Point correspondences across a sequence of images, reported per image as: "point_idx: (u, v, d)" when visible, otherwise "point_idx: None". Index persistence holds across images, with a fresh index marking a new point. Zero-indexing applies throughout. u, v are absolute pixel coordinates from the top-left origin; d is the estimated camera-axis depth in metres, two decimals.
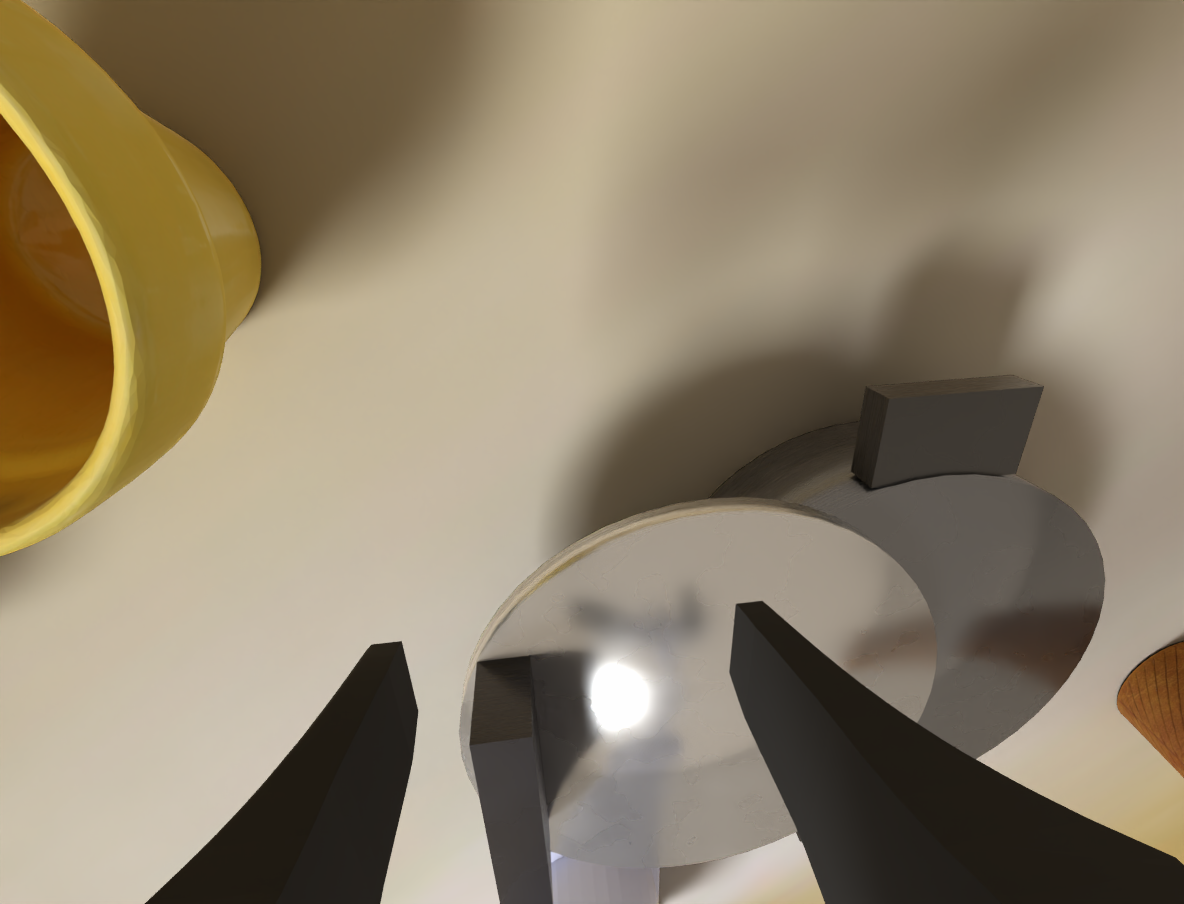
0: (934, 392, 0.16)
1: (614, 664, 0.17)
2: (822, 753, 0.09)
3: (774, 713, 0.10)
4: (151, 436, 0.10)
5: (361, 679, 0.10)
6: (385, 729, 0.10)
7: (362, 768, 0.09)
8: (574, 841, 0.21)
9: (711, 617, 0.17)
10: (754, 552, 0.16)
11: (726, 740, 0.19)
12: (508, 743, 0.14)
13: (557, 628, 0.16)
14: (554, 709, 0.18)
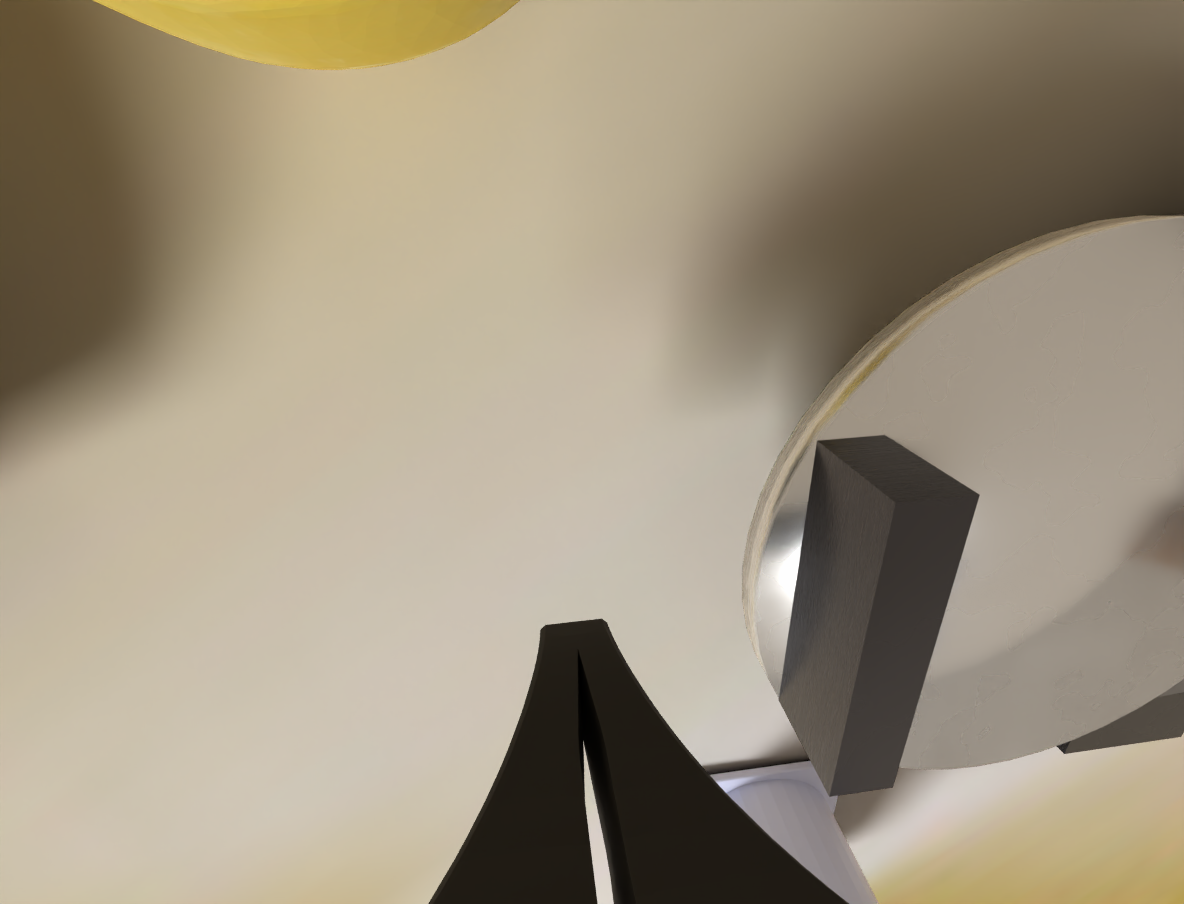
0: None
1: (981, 458, 0.13)
2: (606, 784, 0.08)
3: (590, 737, 0.10)
4: None
5: (555, 656, 0.10)
6: (579, 704, 0.10)
7: (579, 739, 0.09)
8: None
9: (1121, 389, 0.13)
10: None
11: (1072, 586, 0.15)
12: (945, 503, 0.10)
13: (931, 392, 0.12)
14: None
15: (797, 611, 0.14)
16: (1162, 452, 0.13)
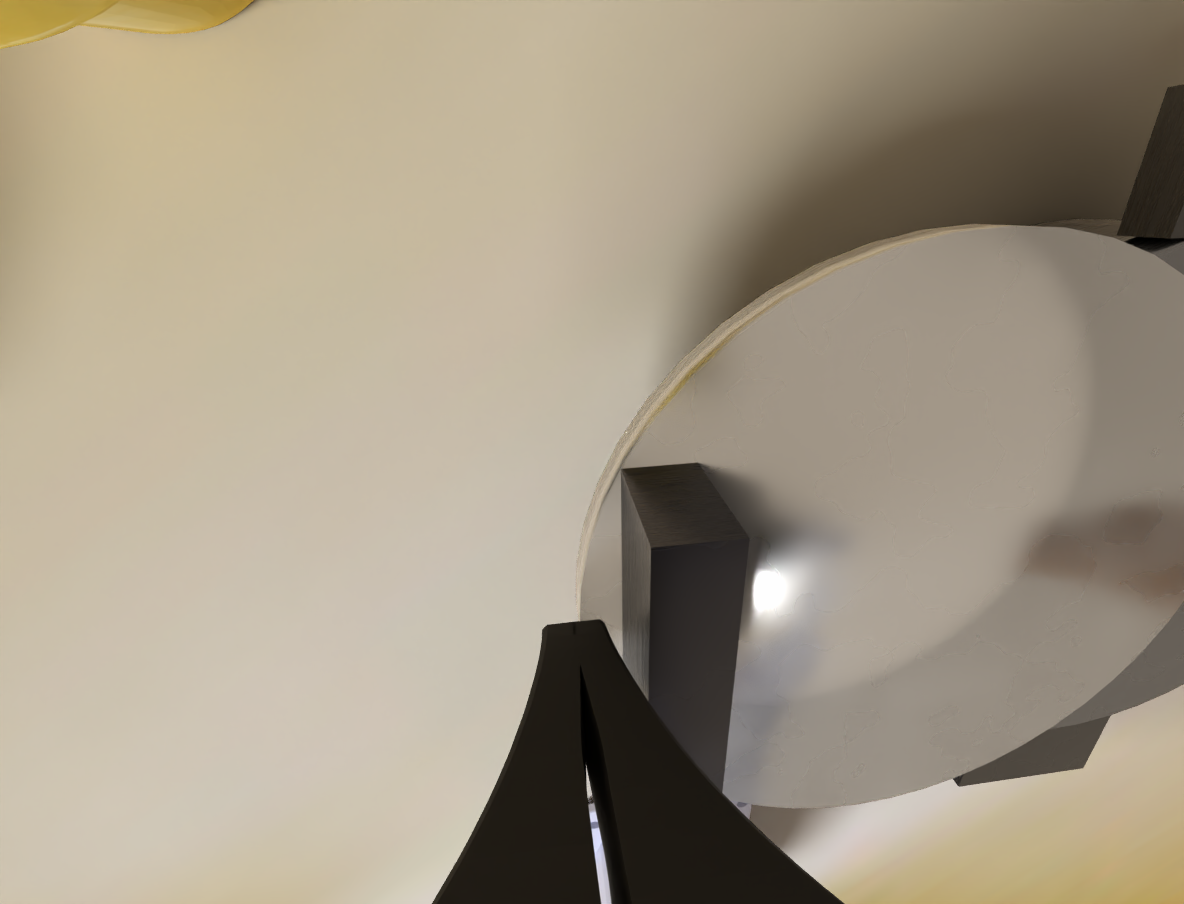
0: None
1: (811, 487, 0.12)
2: (604, 784, 0.08)
3: (588, 738, 0.10)
4: None
5: (558, 656, 0.10)
6: (582, 704, 0.10)
7: (582, 739, 0.09)
8: None
9: (959, 413, 0.11)
10: (1045, 299, 0.11)
11: (934, 620, 0.14)
12: (710, 548, 0.09)
13: (743, 416, 0.11)
14: None
15: (624, 649, 0.13)
16: (1015, 480, 0.12)
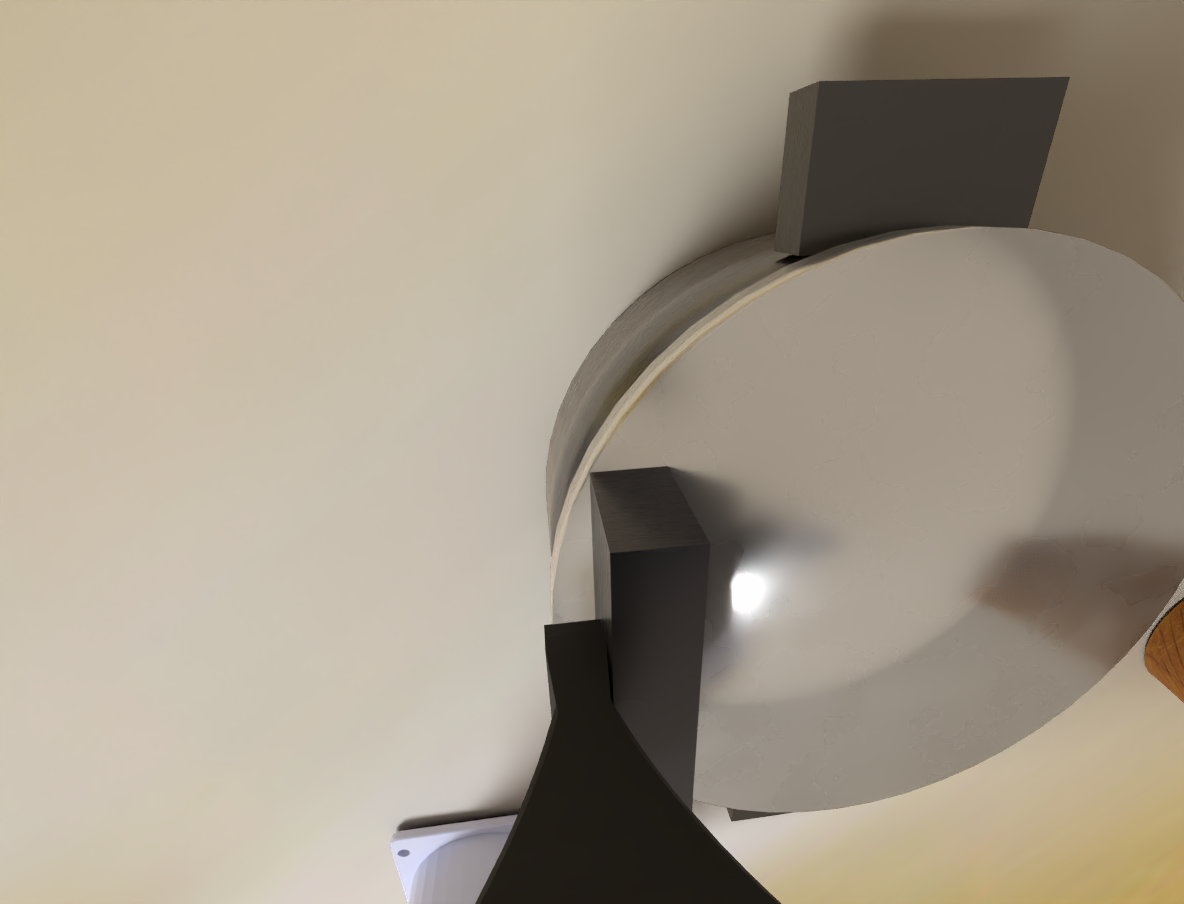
0: (894, 82, 0.10)
1: (783, 490, 0.12)
2: None
3: None
4: None
5: (585, 652, 0.10)
6: None
7: None
8: None
9: (932, 416, 0.11)
10: (1016, 302, 0.11)
11: (912, 624, 0.14)
12: (671, 553, 0.09)
13: (712, 420, 0.11)
14: None
15: None
16: (991, 483, 0.12)
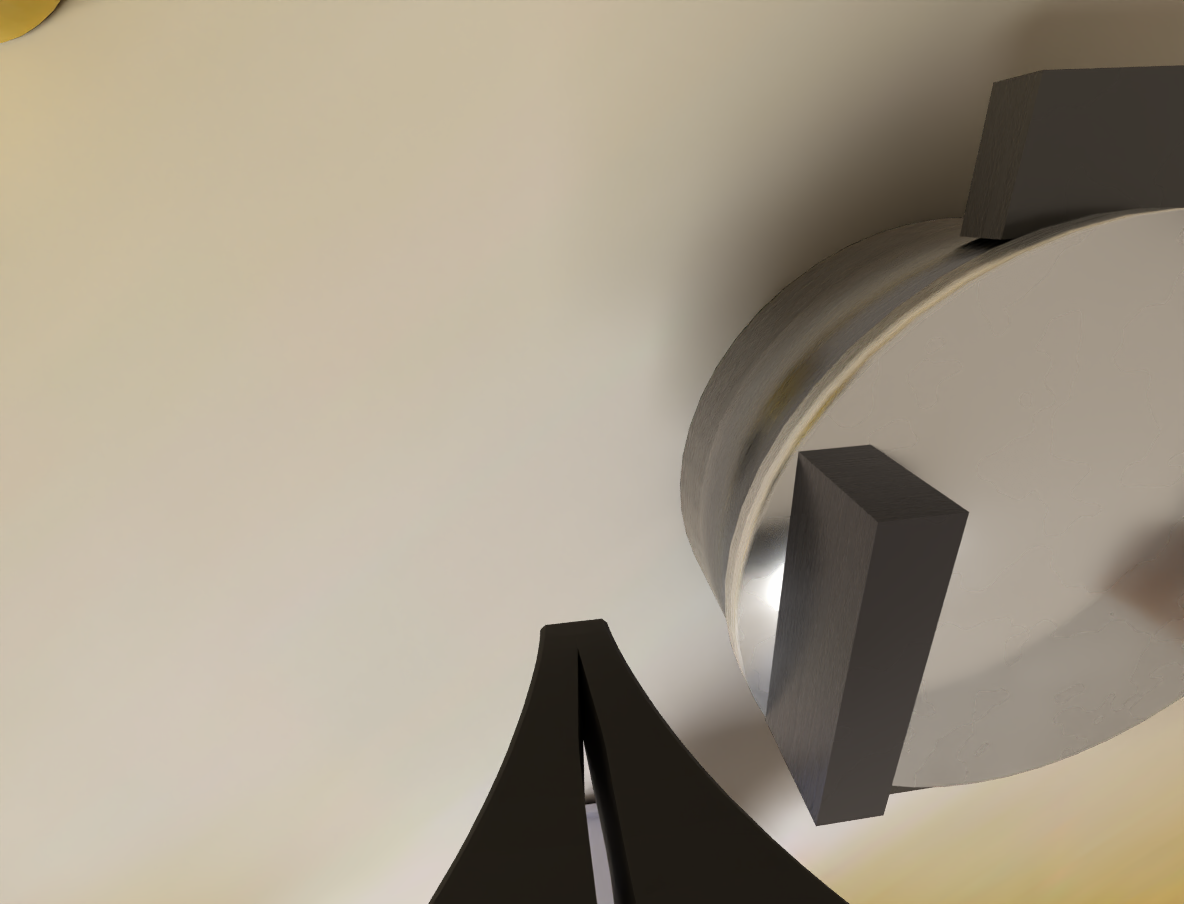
0: (1109, 70, 0.11)
1: (974, 467, 0.12)
2: (606, 784, 0.08)
3: (590, 737, 0.10)
4: None
5: (555, 656, 0.10)
6: (579, 704, 0.10)
7: (579, 739, 0.09)
8: None
9: (1122, 393, 0.12)
10: None
11: (1073, 598, 0.14)
12: (932, 522, 0.09)
13: (919, 399, 0.11)
14: None
15: (782, 629, 0.13)
16: (1166, 458, 0.13)
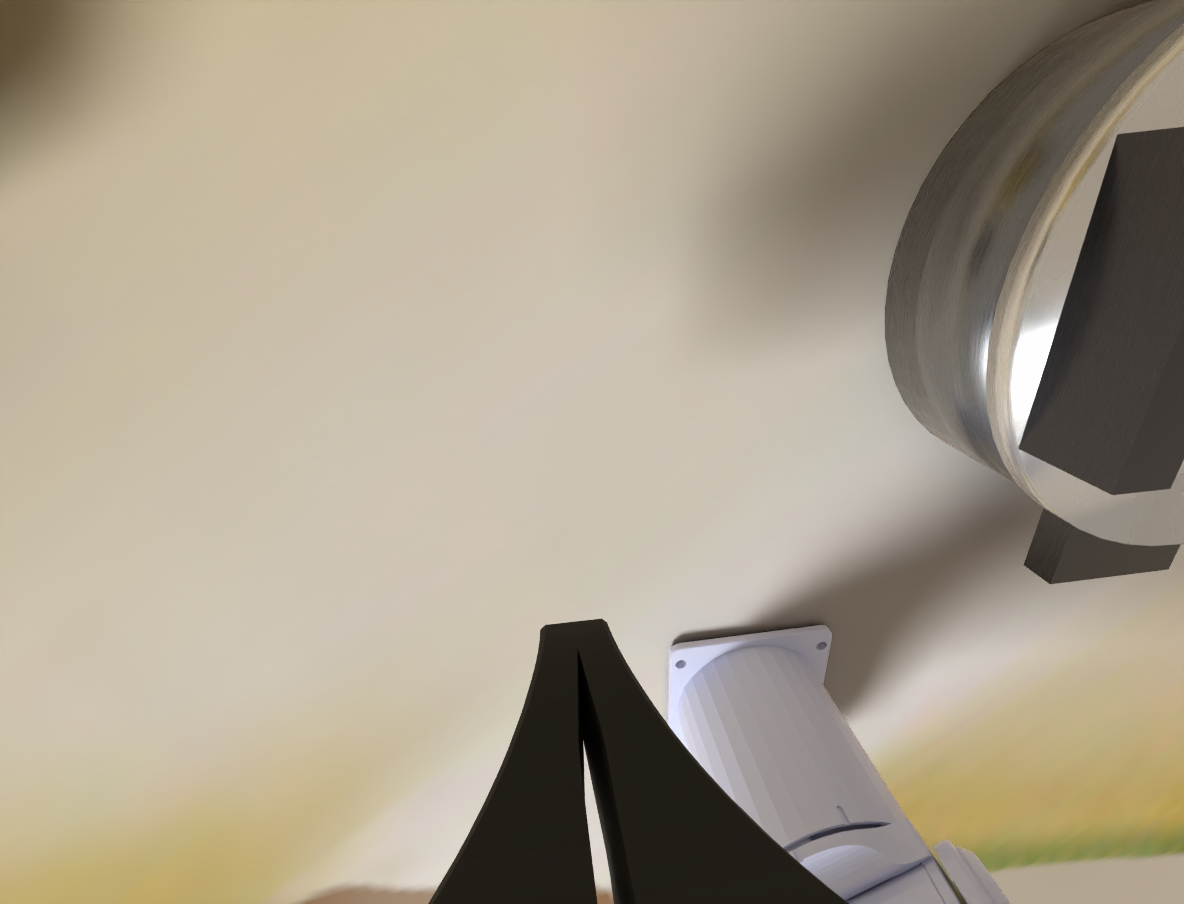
0: None
1: None
2: (606, 784, 0.08)
3: (590, 737, 0.10)
4: None
5: (555, 656, 0.10)
6: (579, 704, 0.10)
7: (579, 739, 0.09)
8: (1077, 487, 0.17)
9: None
10: None
11: None
12: None
13: None
14: None
15: (1064, 334, 0.14)
16: None
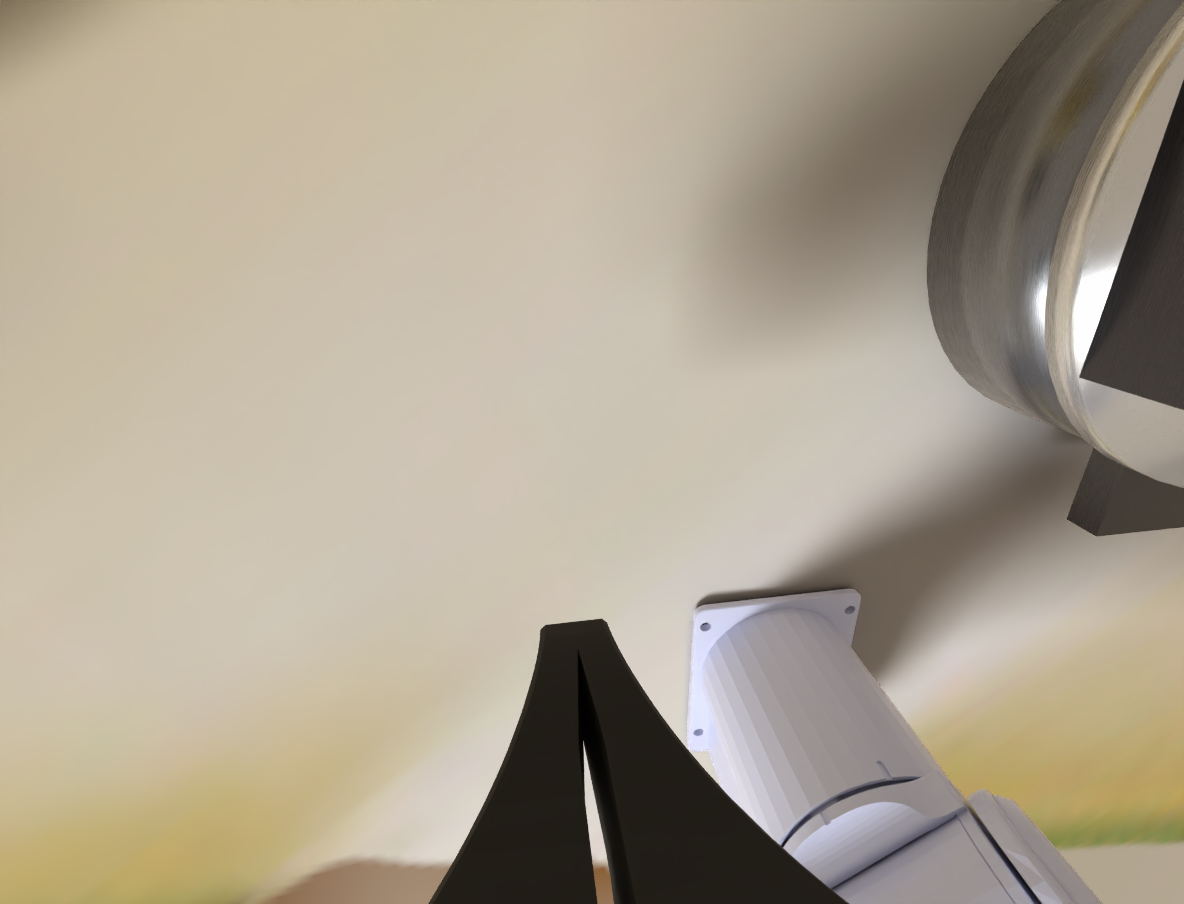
0: None
1: None
2: (606, 784, 0.08)
3: (590, 738, 0.10)
4: None
5: (555, 656, 0.10)
6: (579, 704, 0.10)
7: (579, 739, 0.09)
8: (1136, 422, 0.16)
9: None
10: None
11: None
12: None
13: None
14: None
15: (1136, 248, 0.14)
16: None
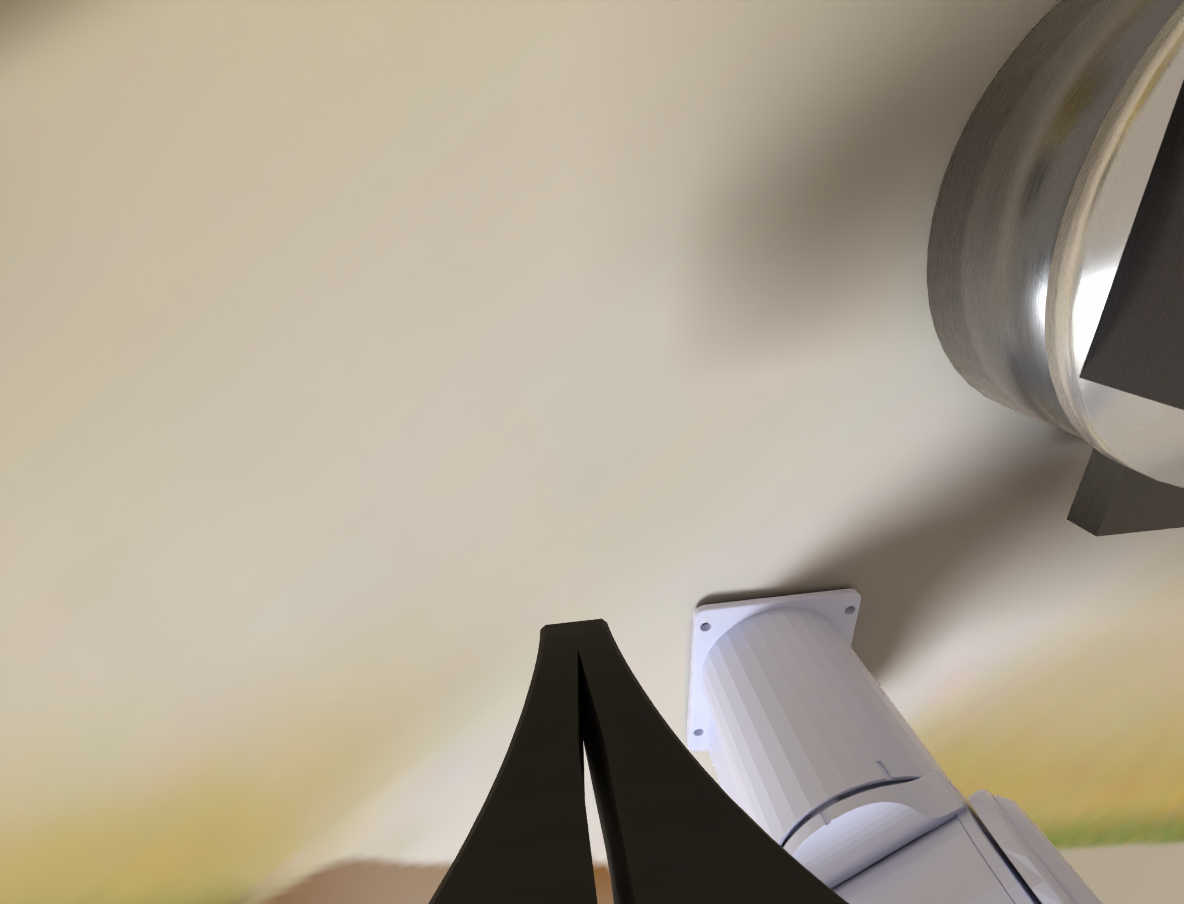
0: None
1: None
2: (606, 784, 0.08)
3: (590, 738, 0.10)
4: None
5: (555, 656, 0.10)
6: (579, 704, 0.10)
7: (579, 739, 0.09)
8: (1136, 422, 0.16)
9: None
10: None
11: None
12: None
13: None
14: None
15: (1136, 248, 0.14)
16: None
